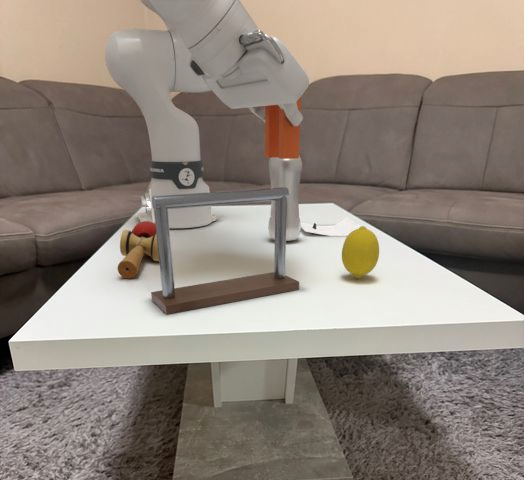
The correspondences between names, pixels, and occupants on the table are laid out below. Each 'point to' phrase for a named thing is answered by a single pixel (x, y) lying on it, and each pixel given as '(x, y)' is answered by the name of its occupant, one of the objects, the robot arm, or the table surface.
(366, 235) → the lemon
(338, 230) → the folded paper
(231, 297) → the rail
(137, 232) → the kendama
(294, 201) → the silver metal bottle
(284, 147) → the orange u-shaped hook
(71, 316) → the table surface
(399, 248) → the table surface
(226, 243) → the table surface
